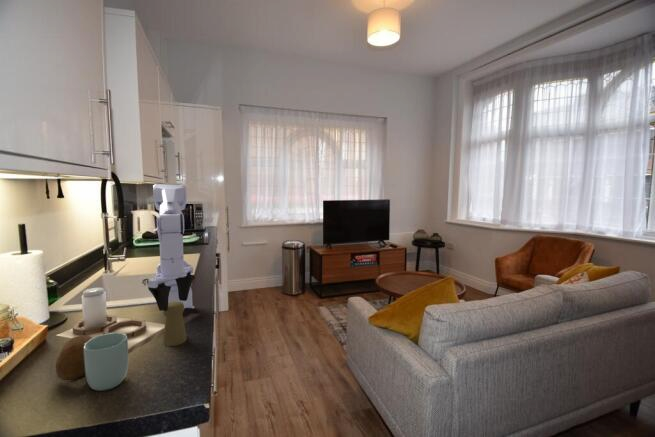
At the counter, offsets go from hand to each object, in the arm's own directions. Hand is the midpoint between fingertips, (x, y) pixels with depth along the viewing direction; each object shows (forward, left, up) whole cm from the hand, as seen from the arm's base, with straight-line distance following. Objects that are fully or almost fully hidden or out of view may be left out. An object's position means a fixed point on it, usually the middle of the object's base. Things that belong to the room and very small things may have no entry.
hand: (173, 305), depth 85 cm
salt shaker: (+2, -26, -9) cm, 28 cm away
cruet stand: (+2, -19, -10) cm, 22 cm away
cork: (0, 0, -11) cm, 11 cm away
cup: (+20, 0, -11) cm, 23 cm away
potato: (+18, -10, -11) cm, 23 cm away
